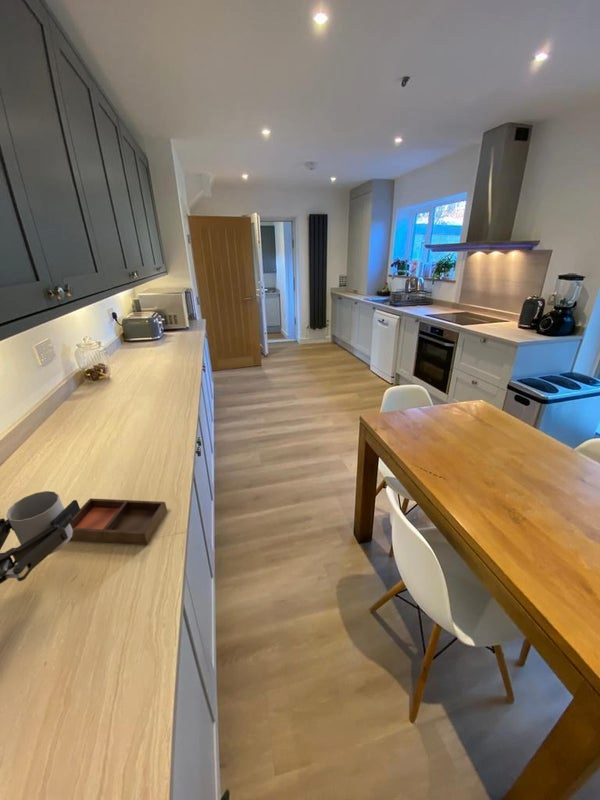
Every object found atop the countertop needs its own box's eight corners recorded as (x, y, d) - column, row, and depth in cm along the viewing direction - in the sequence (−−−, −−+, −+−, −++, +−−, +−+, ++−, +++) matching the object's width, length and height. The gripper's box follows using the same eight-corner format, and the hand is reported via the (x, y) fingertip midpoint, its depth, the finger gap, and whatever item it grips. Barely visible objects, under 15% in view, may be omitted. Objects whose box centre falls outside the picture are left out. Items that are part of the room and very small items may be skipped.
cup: (42, 563, 64) (24, 525, 60) (15, 550, 67) (-4, 514, 63) (81, 531, 71) (68, 496, 67) (55, 521, 74) (41, 487, 70)
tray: (64, 540, 80) (60, 529, 79) (93, 508, 91) (90, 498, 89) (147, 544, 79) (144, 534, 78) (167, 511, 89) (165, 501, 88)
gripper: (-102, 617, 52) (18, 514, 73) (20, 626, 51) (107, 519, 72) (-128, 586, 49) (5, 488, 70) (2, 596, 48) (98, 492, 69)
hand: (57, 503), depth 71 cm, fingers closed on cup, 8 cm apart
